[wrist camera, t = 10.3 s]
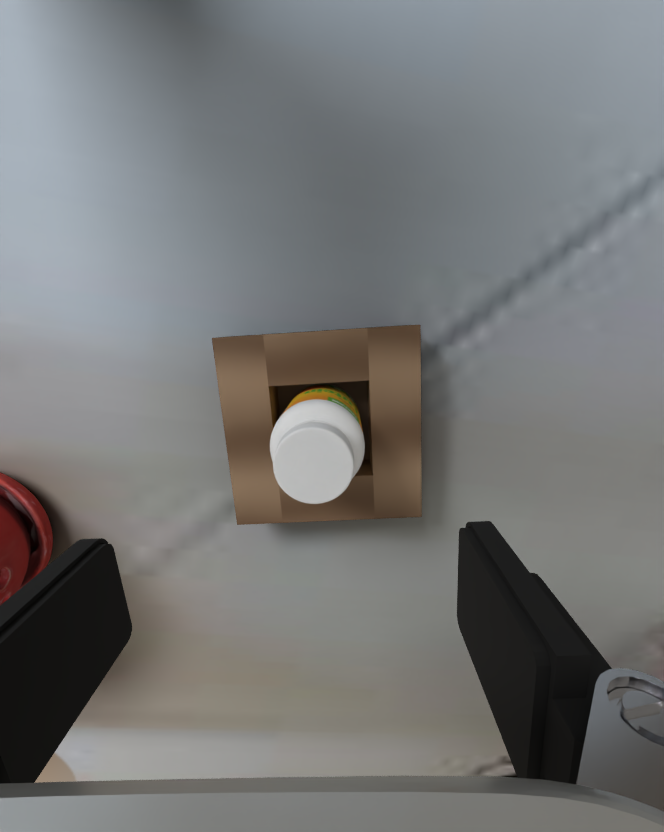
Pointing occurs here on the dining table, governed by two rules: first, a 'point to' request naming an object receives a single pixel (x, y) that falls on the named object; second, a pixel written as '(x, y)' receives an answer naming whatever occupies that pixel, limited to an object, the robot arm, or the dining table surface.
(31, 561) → the plant pot
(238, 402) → the socket block
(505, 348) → the dining table surface
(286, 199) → the dining table surface
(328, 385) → the supplement bottle
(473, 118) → the dining table surface
